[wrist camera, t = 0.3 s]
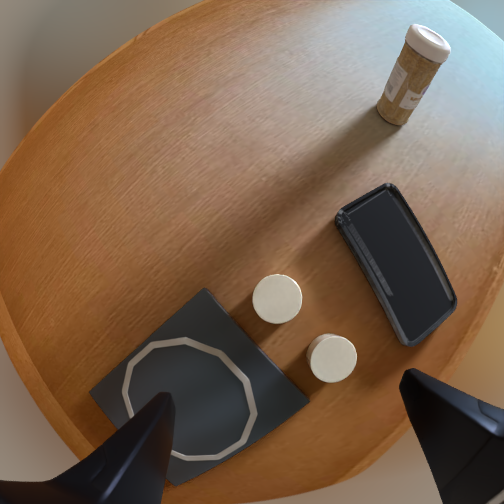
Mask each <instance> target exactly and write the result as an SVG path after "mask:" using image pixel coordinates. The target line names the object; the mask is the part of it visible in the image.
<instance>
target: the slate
mask: <svg viewBox="0 0 504 504" xmlns="http://www.w3.org/2000/svg"><path fill="white" fill-rule="evenodd" d="M159 392H170V393H171V395H172V398H173V401H174V404H175V408H176V414H175V425H174V436H173V446H172V451H171V456H170V460H169V465H168V469H167V474H166V479H167V480H168V481H170V482H171V483H172V484H173V485H174V486H178V485H180V484H182V483H184V482H186V481H188V480H190V479H192V478H194V477H196V476H198V475H200V474H202V473H204V472H206V471H208V470H209V469H211V468H213V467H215V466H217V465H218V464H220V463H222V462H224V461H225V460H227V459H229V458H231V457H232V456H234V455H236V454H237V453H239V452H240V451H242V450H244V449H245V448H247V447H248V446H250V445H251V444H253V443H254V442H256V441H257V440H259V439H260V438H262V437H263V436H265V435H266V434H268V433H269V432H271V431H272V430H273V429H275V428H276V427H277V426H279V425H280V424H282V423H283V422H284V421H286V420H287V419H288V418H290V417H291V416H292V415H294V414H295V413H296V412H297V411H299V410H300V409H301V408H302V407H304V406H305V405H306V404H307V403H309V402H310V400H309V398H308V397H307V396H306V395H305V394H304V393H303V392H302V391H301V390H300V389H299V388H298V387H297V386H296V385H295V384H294V383H293V382H292V381H291V380H290V379H289V378H288V377H287V376H286V375H285V374H284V373H283V372H282V371H281V370H280V369H279V367H278V366H277V365H276V364H275V363H274V362H273V361H272V360H271V359H270V358H269V357H268V356H267V355H266V354H265V353H264V352H263V351H262V350H261V349H260V347H259V346H258V345H257V344H256V343H255V342H254V341H253V340H252V339H251V338H250V337H249V336H248V334H247V333H246V332H245V331H244V330H243V329H242V328H241V327H240V326H239V325H238V323H237V322H236V321H235V320H234V319H233V318H232V317H231V316H230V314H229V313H228V312H227V311H226V310H225V309H224V308H223V307H222V305H221V304H220V303H219V302H218V301H217V300H216V298H215V297H214V296H213V295H212V294H211V293H210V291H209V290H208V289H207V288H203V289H202V290H201V291H200V292H198V293H197V294H196V295H195V296H194V297H193V298H192V299H191V300H190V301H188V302H187V303H186V304H185V305H184V306H183V307H182V308H181V309H180V310H178V311H177V312H176V313H175V314H174V315H173V316H172V317H171V318H170V319H168V320H167V321H166V322H165V323H164V324H163V325H162V326H161V327H160V328H159V329H157V330H156V331H155V332H154V333H153V334H152V335H151V336H150V337H149V338H148V339H146V340H145V341H144V342H143V343H142V344H141V345H140V346H139V347H138V348H137V349H135V350H134V351H133V352H132V353H131V354H130V355H129V356H128V357H127V358H126V359H124V360H123V361H122V362H121V363H120V364H119V365H118V366H117V367H116V368H115V369H114V370H112V371H111V372H110V373H109V374H108V375H107V376H106V377H105V378H104V379H103V380H101V381H100V382H99V383H98V384H97V385H96V386H95V387H94V388H93V389H92V390H91V391H90V392H89V393H90V395H91V396H92V397H93V399H94V400H95V401H96V403H97V404H98V405H99V407H100V408H101V409H102V411H103V412H104V413H105V414H106V416H107V417H108V418H109V419H110V421H111V422H112V423H113V424H114V426H115V427H116V428H117V429H118V430H119V429H120V428H121V427H122V426H123V425H124V424H125V423H126V422H127V421H128V420H130V419H131V418H132V417H133V416H134V415H135V414H136V413H137V412H138V411H139V410H140V409H142V408H143V407H144V406H145V405H146V404H147V403H148V402H149V401H150V400H151V399H152V398H153V397H154V396H155V395H156V394H158V393H159Z"/></svg>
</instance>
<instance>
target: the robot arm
mask: <svg viewBox="0 0 504 504" xmlns="http://www.w3.org/2000/svg"><path fill="white" fill-rule="evenodd" d="M399 390H400V393H401V396H402V399H403V402H404V405H405V408H406V411H407V414H408V417H409V419H410V422H411V424H412V426H413V429H414V431H415V433H416V435H417V437H418V440H419V442H420V445H421V447H422V449H423V452H424V454H425V457H426V459H427V462H428V464H429V466H430V469H431V472H432V474H433V477H434V480H435V482H436V485H437V488H438V491H439V493H440V497H441V499H442V502H443V504H504V409H501V408H498V407H495V406H493V405H490V404H488V403H486V402H483V401H481V400H479V399H477V398H475V397H473V396H471V395H468V394H466V393H464V392H462V391H460V390H458V389H456V388H454V387H451V386H450V385H448V384H446V383H443V382H441V381H439V380H437V379H435V378H433V377H431V376H429V375H427V374H425V373H423V372H421V371H419V370H417V369H415V368H412V369H408V370H405V372H404V374H403V376H402V379H401V382H400V385H399ZM175 414H176V408H175V404H174V401H173V398H172V395H171V393H170V392H159V393H158V394H156V395H155V396H154V397H153V398H152V399H151V400H150V401H149V402H148V403H147V404H146V405H145V406H144V407H143V408H142V409H140V410H139V411H138V412H137V413H136V414H135V415H134V416H133V417H132V418H131V419H130V420H128V421H127V422H126V423H125V424H124V425H123V426H122V427H121V428H120V429H119V430H117V431H116V432H115V433H114V434H113V435H112V436H111V437H110V438H108V439H107V440H106V441H105V442H104V443H103V445H100V446H99V447H98V448H97V449H96V450H95V451H93V452H92V453H91V454H90V455H88V456H87V457H86V458H85V459H83V460H82V461H80V462H79V463H77V464H76V465H74V466H73V467H71V468H70V469H68V470H66V471H65V472H64V473H62V474H60V475H59V476H57V477H55V478H53V479H51V480H48V481H43V482H19V481H4V480H0V504H161V499H162V494H163V489H164V484H165V479H166V474H167V469H168V465H169V460H170V456H171V451H172V446H173V436H174V425H175Z"/></svg>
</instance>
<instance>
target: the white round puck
mask: <svg viewBox="0 0 504 504" xmlns="http://www.w3.org/2000/svg"><path fill="white" fill-rule="evenodd" d="M306 359H307V363H308V366H309V367H310V369H311V370H312V372H313V373H314V375H315V376H316V377H317V378H318V379H320V380H322V381H324V382H329V383H333V382H338V381H341V380H343V379H345V378H346V377H347V376H348V375H349V374H350V373H351V372H352V371H353V369H354V367H355V365H356V360H357V354H356V350H355V347H354V346H353V344H352V343H351V342H350V341H349V340H347V339H345V338H343V337H341V336H338V335H336V334H323V335H321V336H319V337H317V338H316V339H314V340H313V341H312V343H311V344H310V345H309V347H308V350H307V355H306Z"/></svg>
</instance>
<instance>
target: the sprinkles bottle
mask: <svg viewBox="0 0 504 504" xmlns="http://www.w3.org/2000/svg"><path fill="white" fill-rule="evenodd" d="M450 52H451V48H450V46H449V44H448V43H447V42H446V41H445V40H444V39H443V38H442V37H441V36H440V35H438V34H437V33H435V32H434V31H432V30H430V29H429V28H426V27H424V26H421V25H417V24H413V25H411V26H410V27H409V29H408V31H407V34H406V36H405V44H404V46H403V49H402V51H401V53H400V56H399V57H398V58H397V61H396V63H395V65H394V68H393V70H392V72H391V75H390V77H389V79H388V81H387V84H386V86H385V89H384V92H383V94H382V96H381V99H379V101H378V102H377V109H378V112H379V114H380V115H381V116H382V117H383V118H384V119H385V120H386V121H388V122H390V123H392V124H395V125H403V124H405V123H407V122H408V120H409V117H410V115H411V114H412V112H413V110H414V109H415V108H416V107H417V105H418V103H419V102H420V100H421V98H422V97H423V95H424V94H425V92H426V90H427V89H428V87H429V85H430V84H431V81H432V79H433V77H434V76H435V74H436V72H437V71H438V69H439V67H440V65H441V64H442V63H444V62H445V61H446V59H447V58H448V56H449V54H450Z"/></svg>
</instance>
